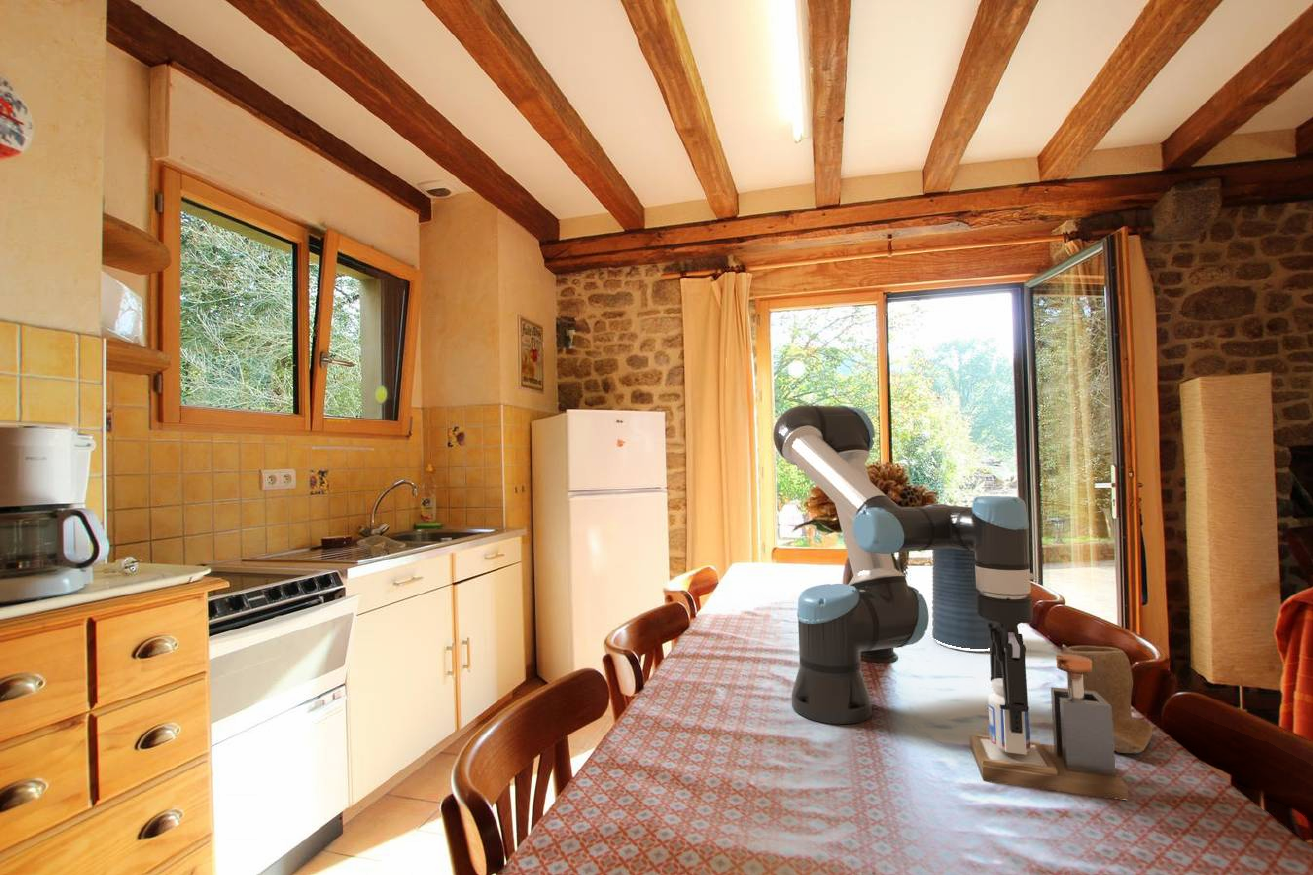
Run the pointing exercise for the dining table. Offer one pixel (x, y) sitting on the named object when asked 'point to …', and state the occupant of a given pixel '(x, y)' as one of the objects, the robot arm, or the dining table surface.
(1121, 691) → the tan suede boot
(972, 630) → the vase
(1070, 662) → the orange capped plunger
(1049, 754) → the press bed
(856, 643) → the robot arm
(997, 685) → the pill bottle
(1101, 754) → the press frame
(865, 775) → the dining table surface
